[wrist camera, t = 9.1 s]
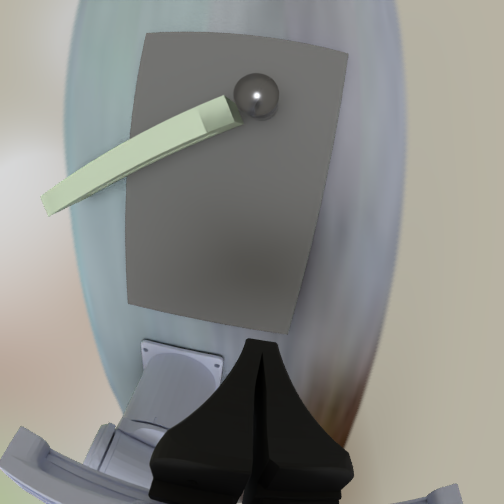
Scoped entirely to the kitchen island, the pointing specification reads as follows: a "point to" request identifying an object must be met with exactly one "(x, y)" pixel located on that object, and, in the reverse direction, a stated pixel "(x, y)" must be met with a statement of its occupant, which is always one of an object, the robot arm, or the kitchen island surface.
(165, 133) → the pale green slotted bar
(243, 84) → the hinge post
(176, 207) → the mat
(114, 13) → the kitchen island surface
